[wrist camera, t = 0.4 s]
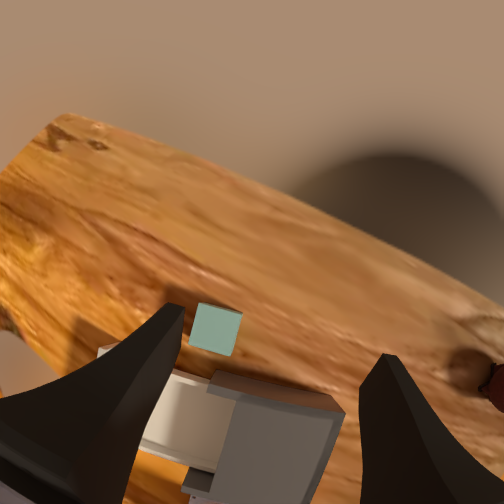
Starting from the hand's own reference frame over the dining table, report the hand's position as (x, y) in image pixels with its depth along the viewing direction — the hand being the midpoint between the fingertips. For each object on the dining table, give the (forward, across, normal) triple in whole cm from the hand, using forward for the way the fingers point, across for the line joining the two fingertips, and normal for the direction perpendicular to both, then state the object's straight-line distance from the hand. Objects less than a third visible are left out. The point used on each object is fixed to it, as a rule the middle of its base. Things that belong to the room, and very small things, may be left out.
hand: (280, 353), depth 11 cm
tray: (+12, +7, +27) cm, 31 cm away
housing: (+12, -4, +27) cm, 30 cm away
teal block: (+20, +4, +18) cm, 27 cm away
